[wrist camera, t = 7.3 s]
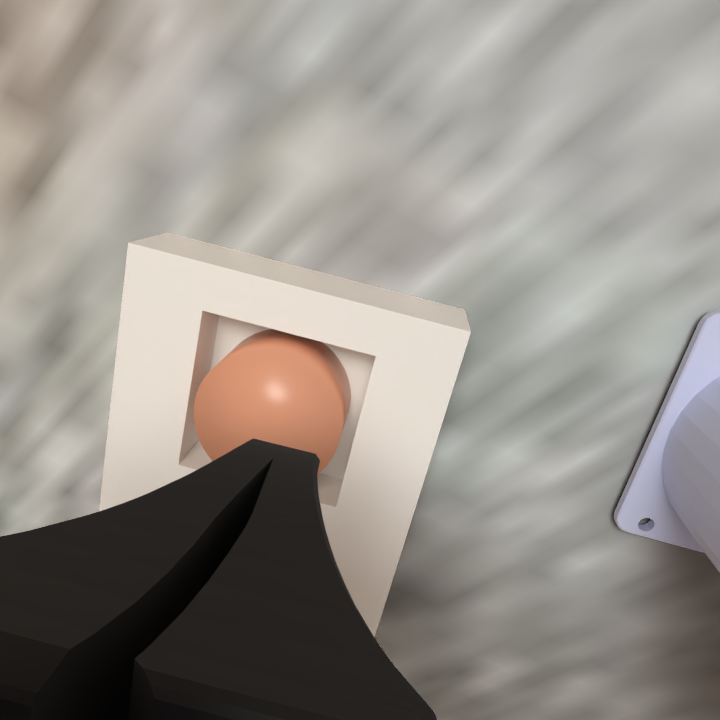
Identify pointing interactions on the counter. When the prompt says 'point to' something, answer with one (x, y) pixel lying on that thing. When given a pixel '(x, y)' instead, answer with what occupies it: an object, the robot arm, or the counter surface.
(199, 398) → the terracotta button
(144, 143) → the counter surface
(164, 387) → the button panel
